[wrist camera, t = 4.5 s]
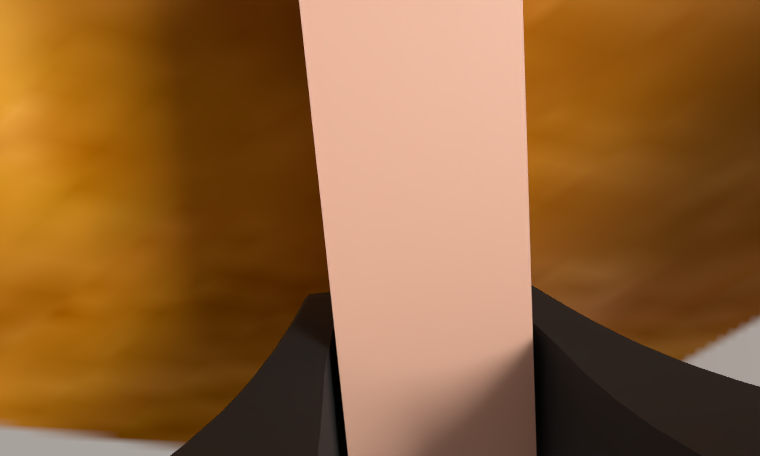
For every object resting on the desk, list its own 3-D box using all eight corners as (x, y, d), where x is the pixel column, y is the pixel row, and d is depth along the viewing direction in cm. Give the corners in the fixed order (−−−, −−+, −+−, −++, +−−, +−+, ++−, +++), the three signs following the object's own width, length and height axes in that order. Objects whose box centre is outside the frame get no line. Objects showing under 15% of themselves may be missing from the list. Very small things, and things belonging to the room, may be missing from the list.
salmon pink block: (427, -147, 12) (509, -398, 6) (457, 342, 15) (537, 490, 9) (296, -139, 12) (256, -389, 6) (348, 354, 14) (354, 513, 9)
